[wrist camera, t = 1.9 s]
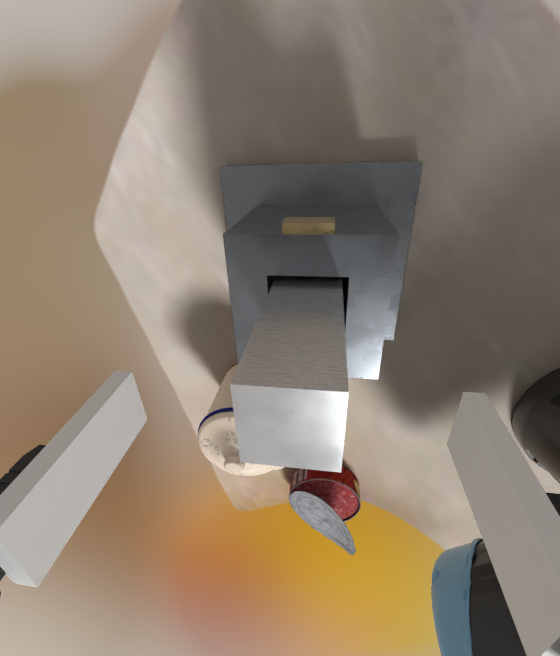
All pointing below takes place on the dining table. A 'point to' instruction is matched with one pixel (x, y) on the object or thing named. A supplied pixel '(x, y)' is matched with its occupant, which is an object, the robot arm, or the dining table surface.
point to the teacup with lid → (225, 435)
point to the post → (294, 378)
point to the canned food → (326, 502)
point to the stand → (322, 242)
